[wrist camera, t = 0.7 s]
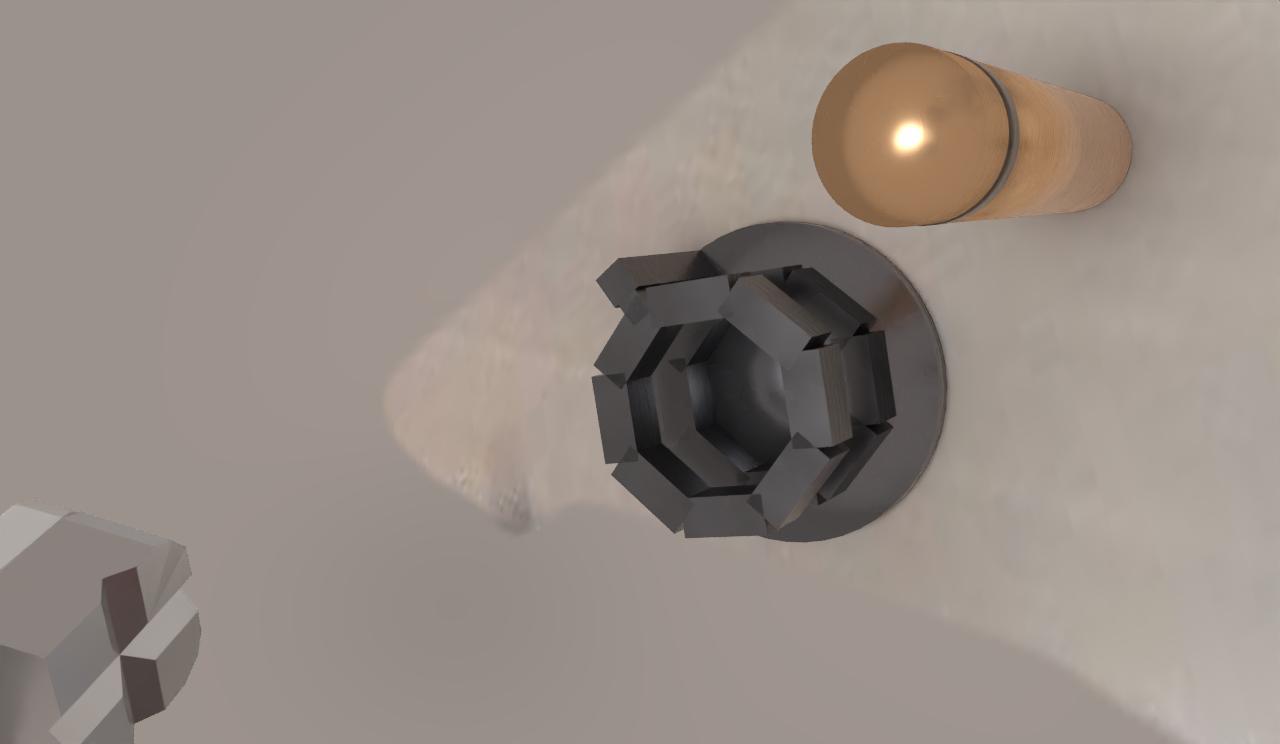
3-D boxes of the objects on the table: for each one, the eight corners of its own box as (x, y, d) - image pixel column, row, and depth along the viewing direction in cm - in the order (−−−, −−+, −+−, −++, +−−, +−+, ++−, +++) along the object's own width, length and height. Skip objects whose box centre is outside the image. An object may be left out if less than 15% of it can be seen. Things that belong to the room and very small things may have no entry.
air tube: (1124, 82, 45) (973, 21, 28) (1140, 201, 45) (1000, 211, 28) (1004, 108, 48) (798, 66, 31) (1020, 221, 48) (824, 241, 31)
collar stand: (920, 195, 50) (848, 196, 43) (968, 531, 50) (905, 584, 44) (632, 249, 57) (531, 257, 50) (678, 541, 58) (585, 588, 51)
